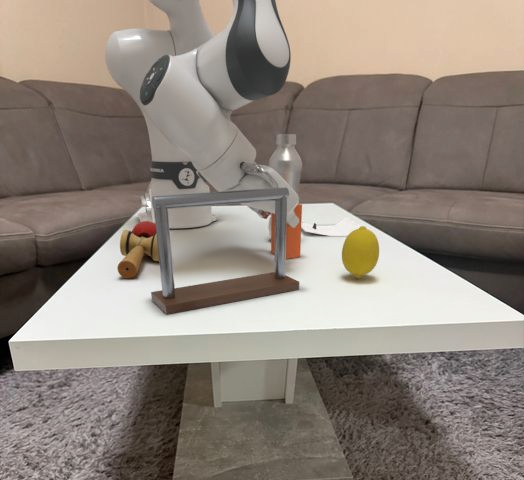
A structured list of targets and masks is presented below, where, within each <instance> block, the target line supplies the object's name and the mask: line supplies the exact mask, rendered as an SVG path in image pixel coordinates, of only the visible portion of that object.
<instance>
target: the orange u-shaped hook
mask: <svg viewBox="0 0 524 480" xmlns="http://www.w3.org/2000/svg"><path fill="white" fill-rule="evenodd" d="M294 213H295V215H296V216H297V217H298V218H299V223H298V224H297V226H296V227H295V228H292V227H290V226H288V225H287V224H286V260H289V259H290V260H291V259H296V258H300V257H301V246H302V245H301V244H302V243H301V242H302V227H301V222H302V217H303V204H302V203H298V205H297V206H296V207H295V209H294ZM270 254H273V255H275V214H274V213H271V236H270Z"/></svg>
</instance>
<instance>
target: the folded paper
mask: <svg viewBox="0 0 524 480" xmlns="http://www.w3.org/2000/svg"><path fill="white" fill-rule="evenodd" d="M361 226H362V225H360V224H358V223H357V222H356V221H353V220H352V219H351V218H349V217H348V216H346V217H344V218H343V219H342V220H341V221H339V222H337V223H336V224H335V225H319V224H316V222H314V223H307V222H302V221H301V229H302V230H303V231H304V232H306V233H311V234H317V235H323V236H327V237H328V236H329V237H347V236H348V235H349V234H350V233H351V232H352V231H354V230H356V229H359V228H360V227H361Z"/></svg>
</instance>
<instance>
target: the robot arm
mask: <svg viewBox="0 0 524 480" xmlns="http://www.w3.org/2000/svg"><path fill="white" fill-rule="evenodd" d="M148 2H150V3H151V4H152V5H153V6H155V7H156V8H157V9H158V10H160V11H161V12H163V13H165V14H166V16H167V19H168V22H169V29H167V30H162V29H149V28H137V27H135V28H134V27H133V28H127V29H121V30H116V31H113V32H112V33H111V34H110V36H109V38H108V39H107V42H106V45H105V51H104V59H105V65H106V68H107V70H108V73H109V75H110V76H111V78H112V80H113V81H114V82H115V83H116V84H117V85H118V86H119V87H120V88H121V89H123V90H124V91H125V92H126V93H127V94H128V95H129V96H130V97H131V98H132V99H133V100H134V102H135V104H136V105H137V106H138V108H139V109H140V111H141V114H142V115H143V117H144V120H145V123H146V127H147V133H148V138H149V145H150V154H151V161H150V167H149V171H150V172H149V173H150V175H149V176H150V177H151V180H150V182H149V185H148V187H147V188H146V192H145V193H143V195H140V196H139V203H140V206H141V207H145V211H144V212H139V213H137V216H138V217H137V218H138V220H139V223H141V222H145V221H149V222H153V223H155V214H154V209H153V206H152V197H153V196H165V195H179V194H194V193H209V192H211V191H210V187H209V185H211V186H212V188H214V189H215V190H216V191H217V192H224V191H239V190H253V189H268V188H283V187H286V188H288V190H289V197H288V199H287V218H286V224H287V225H288V226H290V227H292V228H295V227H296V226H297V224H298V223H299V218H298V217H297V216H296V215H295V213H294V209H295V207H296V206H297V205H298V204H300V197H298V195H299V194H298V195H297V193H296V192H295V191H294V190H293V189H292V188H291V186H290V185H289V184H288V183H287V182H286V181H285V180H284V179H283V178H282V177H281V176H280V175H279V174H278V173H277V172H276V171H275V170H274V169H272V168H271V167H269V166H268V165H264V164H258V163H257V161H255V160H256V158H257V150H256V148H255V147H254V146H253V144H252V142H250V141H249V140H248V138H247V137H246V136H245V135H244V134H243V133H242V131H241V130H240V129H239V127H238V126H237V125H236V124H235V123H234V122H233V121H232V120H231V115H232V113H233V112H234V111H236V110H238V109H241V108H242V107H244V106H246V105H249V104H251V103H253V102H255V101H258V100H261V99H265V98H267V97H270V96H274V95H276V94H277V93H279V92H280V91H281V90H282V88H283V87H284V86H285V83H286V81H287V78H288V75H289V72H290V68H291V60H292V59H291V56H292V53H291V47H290V43H289V39H288V36H287V33H286V31H285V28H284V26H283V25H284V24H283V23H282V20H281V17H280V14H279V11H278V7H277V1H276V0H232V4H233V12H232V14H231V15H232V16H231V17H230V20H229V22H228V23H227V25H226V27H225V28H224V29H223V30H221V31H220V32H219V33H217V34H216V35H215V33H214V32H213V31H212V30H211V28H210V26H209V25H208V23H207V20H206V19H205V17H204V13H203V10H202V7H201V3H200V0H148ZM206 182H207V183H209V185H208V184H207V183H206ZM239 205H243V206H245V207H247V208H248V209H250V210H251V211H252V212H254V213H256V215H258V217H259V218H261V219H264V220H268V218H269V217H270V214H271V213H274V214H275V201H264V202H251V203H239ZM168 219H169V229H190V228H191V229H192V228H199V227H204V226H208V225H210V224H211V223H212V222H217V221H218V215H214V214H213V210H212V206H203V207H190V208H178V209H168Z"/></svg>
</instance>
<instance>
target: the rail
mask: <svg viewBox="0 0 524 480" xmlns="http://www.w3.org/2000/svg"><path fill="white" fill-rule="evenodd" d="M288 197H289V190H288V188H286V187H283V188H268V189H253V190H239V191H224V192H219V191H212V192H211V191H210V192H209V193H194V194H179V195H165V196H153V197H152V206H153V209H154V214H155V224H156V234H157V244H158V254H159V261H158V263H159V271H160V281H161V282H160V283H161V290H155V291H151V292H150V296H151V301H152V302H153V303H154V304H155V305H156V306H157V307H158V308H159V309H160V310H161V311H162V312H163V313H164V314H165V315H171V314H177V313H181V312H186V311H187V312H188V311H192V310H197V309H201V308H202V309H203V308H209V307H214V306H219V305H225V304H230V303H236V302H240V301H245V300H250V299H255V298H261V297H267V296H271V295H277V294H282V293H283V294H284V293H288V292H293V291H299V290H300V281H299V280H297V279H295V278H292V277H290V276H289V275H286V261H287V259H286V218H287V199H288ZM264 201H275V254H274V262H273V263H274V266H273V267H274V269H273V270H274V271H272V272H266V273H259V274H254V275H248V276H247V275H246V276H241V277H236V278H235V277H234V278H229V279H223V280H216V281H211V282H205V283H197V284H191V285H186V286H180V287H175V277H174V267H173V254H172V243H171V232H170V231H171V230H170V228H169V219H168V209H178V208H190V207H203V206H211V207H213V206H225V205H237V204H239V203H251V202H264ZM239 205H240V204H239Z"/></svg>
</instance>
